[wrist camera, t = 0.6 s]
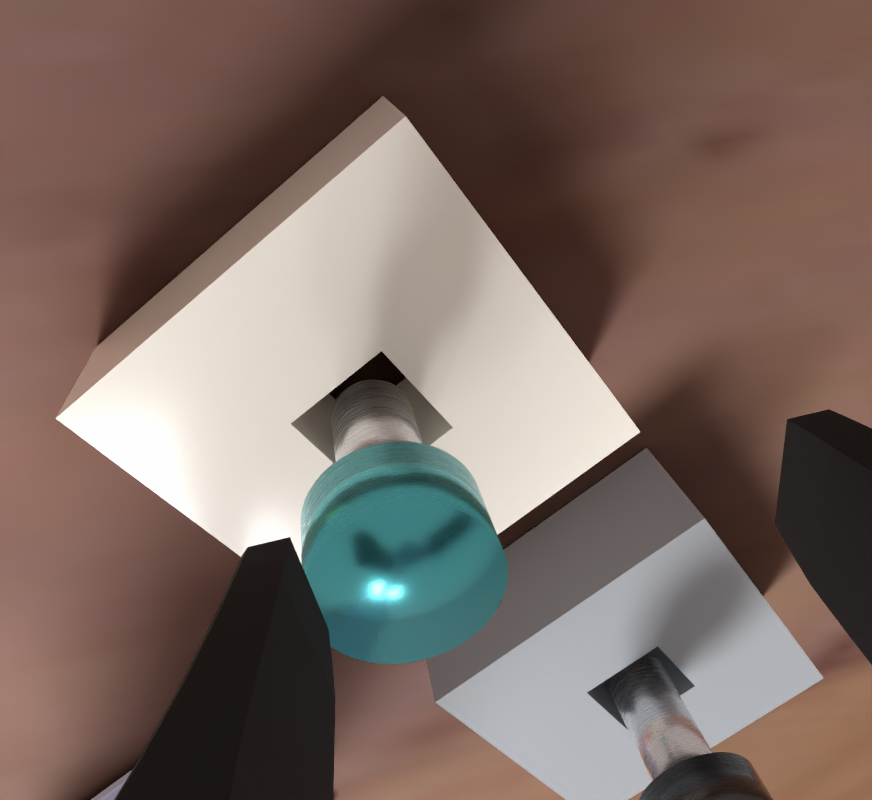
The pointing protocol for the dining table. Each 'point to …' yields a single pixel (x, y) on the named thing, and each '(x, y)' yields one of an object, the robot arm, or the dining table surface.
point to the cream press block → (344, 348)
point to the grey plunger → (677, 741)
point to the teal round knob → (397, 536)
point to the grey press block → (617, 636)
